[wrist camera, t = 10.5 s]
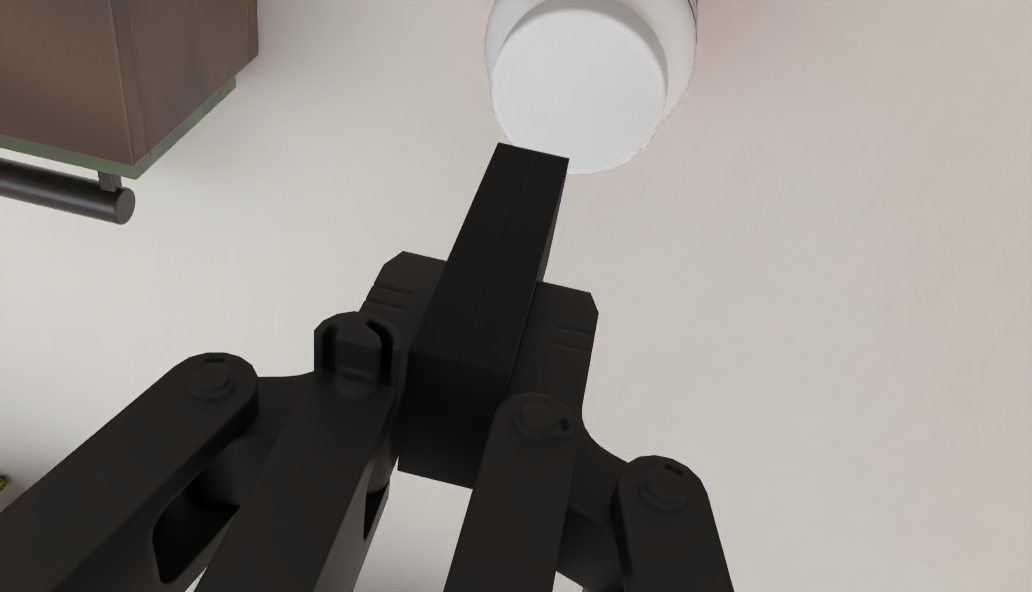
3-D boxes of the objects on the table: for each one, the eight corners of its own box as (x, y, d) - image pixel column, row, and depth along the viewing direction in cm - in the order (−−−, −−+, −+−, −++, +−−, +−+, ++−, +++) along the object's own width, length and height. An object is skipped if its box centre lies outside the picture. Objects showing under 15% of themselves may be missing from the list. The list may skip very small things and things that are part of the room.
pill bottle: (501, 5, 33) (424, 136, 24) (574, -158, 29) (514, -72, 20) (645, 80, 33) (621, 233, 25) (734, -70, 30) (742, 50, 21)
